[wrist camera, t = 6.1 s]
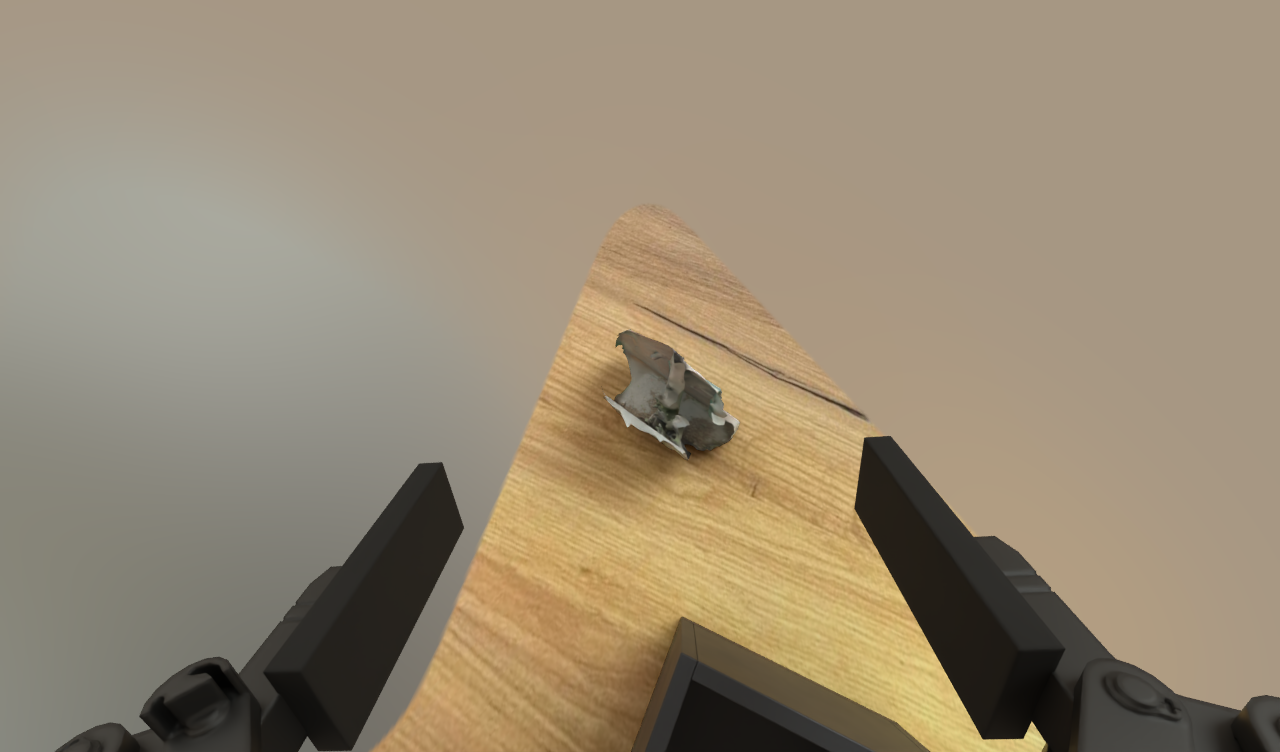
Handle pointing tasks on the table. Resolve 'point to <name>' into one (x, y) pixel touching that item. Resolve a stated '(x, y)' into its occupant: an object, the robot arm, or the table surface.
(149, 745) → the robot arm
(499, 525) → the table surface
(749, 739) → the waste bin
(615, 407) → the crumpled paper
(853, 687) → the table surface
